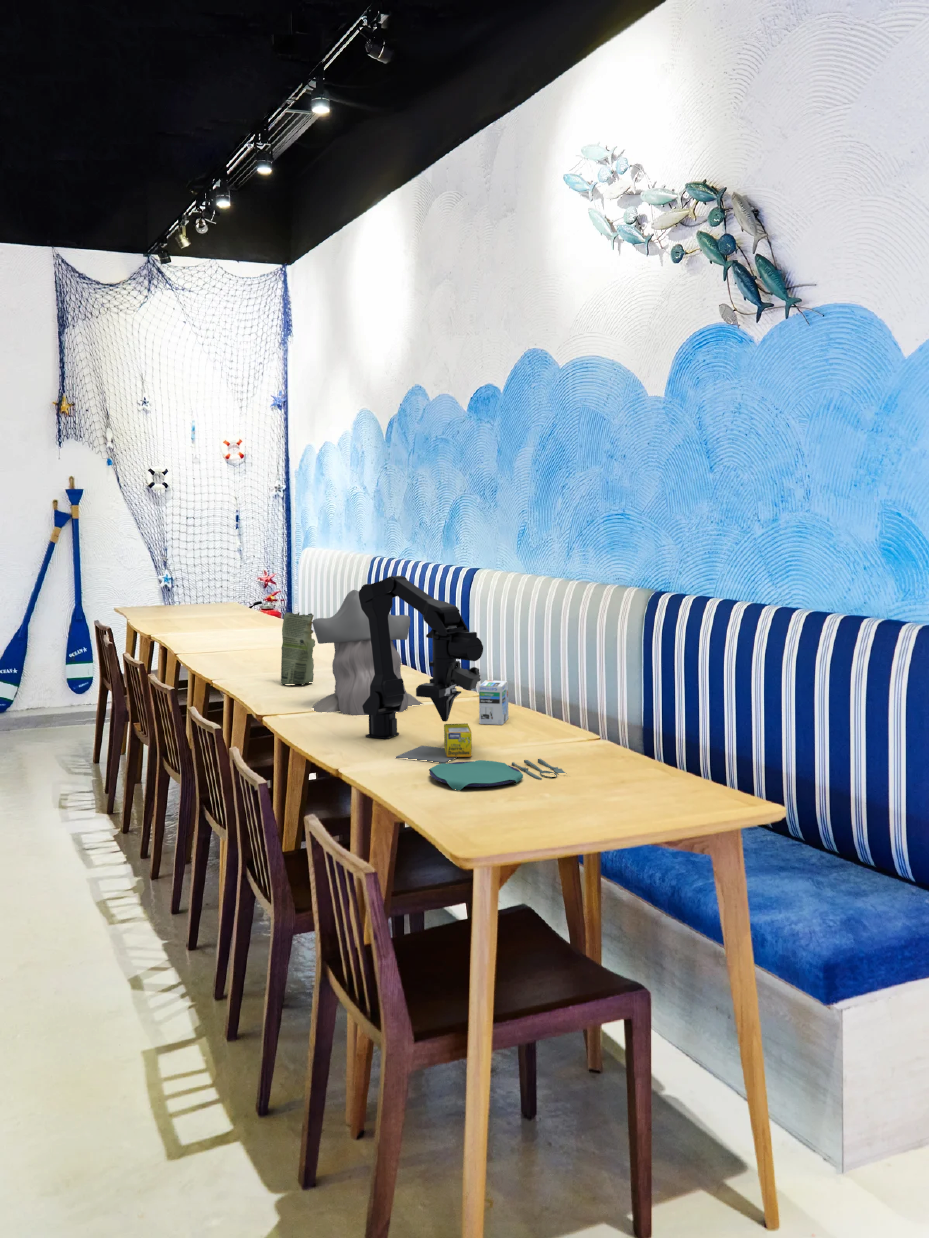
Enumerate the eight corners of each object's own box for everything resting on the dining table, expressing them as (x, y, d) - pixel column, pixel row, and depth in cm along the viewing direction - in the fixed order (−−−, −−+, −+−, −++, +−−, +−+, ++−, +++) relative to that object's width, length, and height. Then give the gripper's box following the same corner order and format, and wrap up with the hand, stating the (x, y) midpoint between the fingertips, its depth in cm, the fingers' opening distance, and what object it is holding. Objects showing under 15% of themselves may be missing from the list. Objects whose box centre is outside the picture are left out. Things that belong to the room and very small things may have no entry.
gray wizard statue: (405, 693, 331) (404, 585, 327) (437, 712, 299) (436, 592, 296) (300, 700, 320) (298, 588, 316) (322, 720, 288) (320, 595, 284)
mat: (395, 758, 241) (395, 756, 241) (421, 747, 253) (421, 745, 253) (444, 763, 236) (444, 762, 236) (469, 752, 247) (469, 750, 247)
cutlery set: (416, 773, 227) (416, 763, 227) (538, 763, 239) (539, 753, 238) (448, 797, 209) (448, 786, 209) (579, 784, 220) (579, 774, 220)
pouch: (282, 682, 355) (280, 610, 352) (317, 681, 356) (315, 609, 354) (279, 687, 344) (278, 613, 341) (315, 686, 345) (314, 612, 343)
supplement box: (444, 747, 251) (446, 757, 240) (443, 723, 250) (446, 732, 239) (468, 747, 251) (472, 757, 240) (468, 723, 250) (471, 731, 240)
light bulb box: (502, 725, 279) (502, 686, 278) (478, 724, 280) (478, 685, 279) (509, 717, 289) (509, 680, 288) (485, 717, 291) (485, 679, 290)
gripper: (456, 664, 236) (457, 731, 238) (491, 654, 253) (491, 717, 254) (414, 661, 241) (415, 727, 242) (450, 652, 258) (451, 713, 259)
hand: (445, 721), depth 249 cm, fingers closed
